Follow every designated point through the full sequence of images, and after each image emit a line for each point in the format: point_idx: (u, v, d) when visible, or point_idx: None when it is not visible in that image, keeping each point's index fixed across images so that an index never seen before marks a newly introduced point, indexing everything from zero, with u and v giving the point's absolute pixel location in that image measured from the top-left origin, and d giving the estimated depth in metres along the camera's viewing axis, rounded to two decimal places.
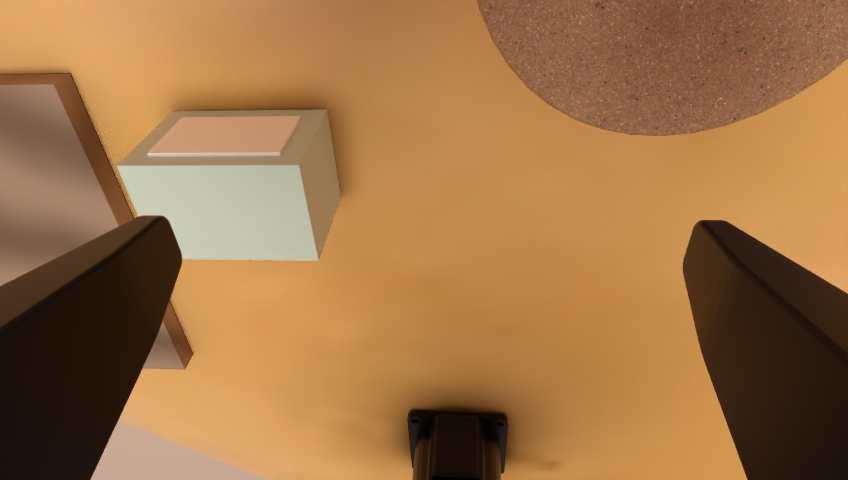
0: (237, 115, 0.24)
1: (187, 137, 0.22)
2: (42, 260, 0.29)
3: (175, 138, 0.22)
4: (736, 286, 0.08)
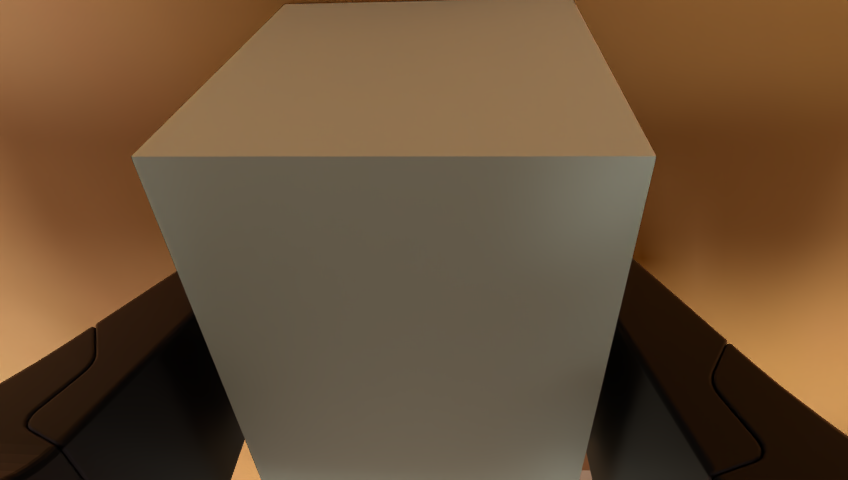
0: None
1: None
2: None
3: None
4: None
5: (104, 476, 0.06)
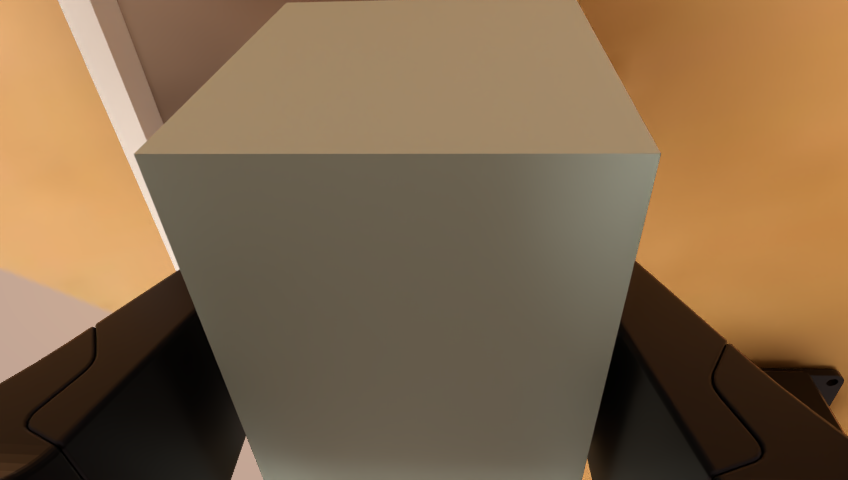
0: None
1: None
2: None
3: None
4: None
5: (104, 476, 0.06)
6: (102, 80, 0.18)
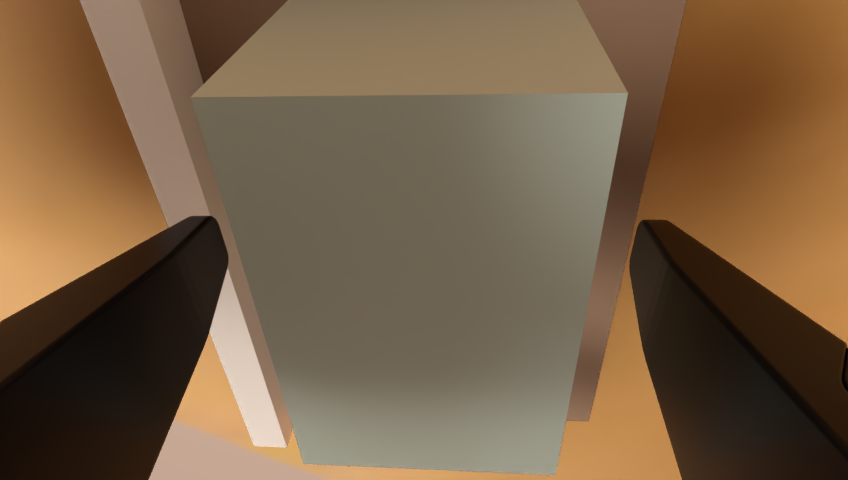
0: None
1: None
2: None
3: None
4: (670, 285, 0.08)
5: None
6: (121, 61, 0.10)
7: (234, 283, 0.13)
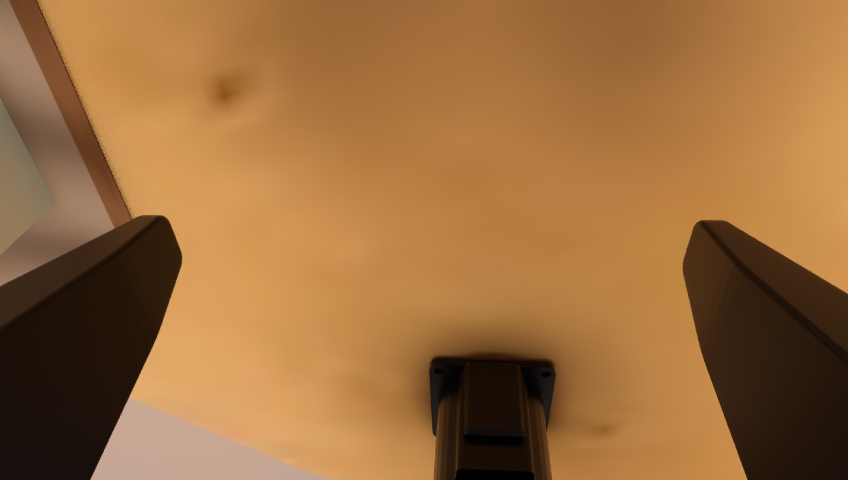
0: None
1: None
2: None
3: None
4: (736, 286, 0.08)
5: None
6: None
7: None
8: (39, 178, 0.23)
